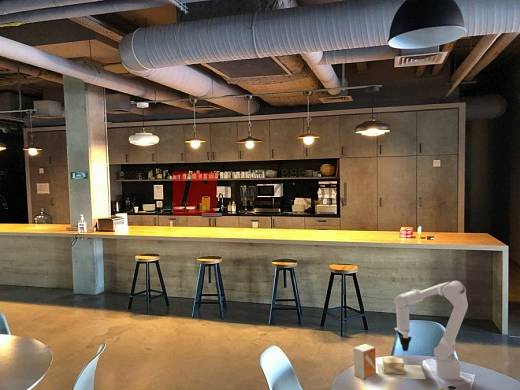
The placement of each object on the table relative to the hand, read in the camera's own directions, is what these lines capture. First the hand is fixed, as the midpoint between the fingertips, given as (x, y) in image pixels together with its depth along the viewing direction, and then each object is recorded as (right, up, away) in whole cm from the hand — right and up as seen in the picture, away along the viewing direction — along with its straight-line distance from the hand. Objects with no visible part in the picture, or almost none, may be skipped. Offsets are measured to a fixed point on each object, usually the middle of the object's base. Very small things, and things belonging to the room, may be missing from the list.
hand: (404, 347), depth 203 cm
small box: (-20, -11, -6) cm, 24 cm away
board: (-4, -10, -6) cm, 12 cm away
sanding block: (-7, -9, -5) cm, 13 cm away
